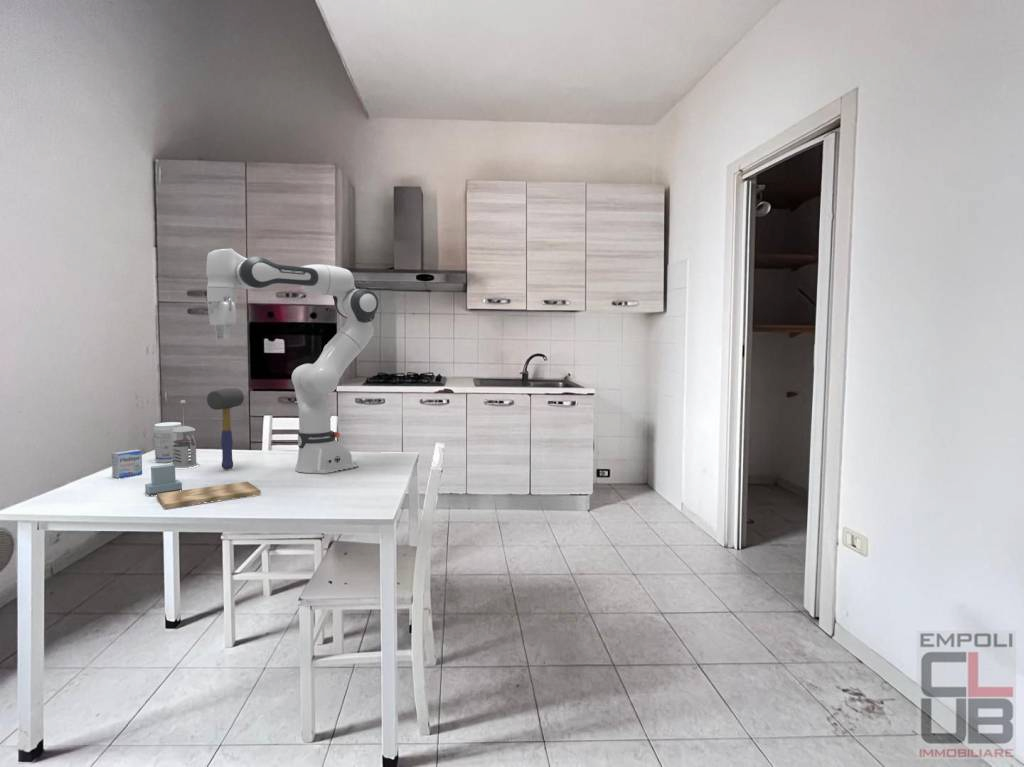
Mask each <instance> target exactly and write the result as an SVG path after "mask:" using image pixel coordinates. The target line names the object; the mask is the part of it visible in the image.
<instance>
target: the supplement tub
mask: <svg viewBox="0 0 1024 767" xmlns="http://www.w3.org/2000/svg"><path fill="white" fill-rule="evenodd" d="M182 424H183V423H181V422H179V421H178V422H177V421H169V422H168V421H166V422H159V423H155V424H154V426H153V437H154V438H153V439H154V453H155V454H154V455H155V462H157V463H158V462H159V463H158V464H170V463H169V462H175V461H173V451H172V446H173V445H175V444H176V443H174V441H176V440H184V435H183V433H172V432H171V431H172V430H173V429H175V428H177V427H180V426H183V425H182ZM174 451H175V450H174ZM174 455H175V454H174ZM174 458H175V457H174ZM167 462H168V463H167Z"/></svg>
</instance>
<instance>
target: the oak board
mask: <svg viewBox="0 0 1024 767" xmlns="http://www.w3.org/2000/svg"><path fill="white" fill-rule="evenodd" d="M260 494H262V491H261V489H260V488H258V487H256V486H255V485H254V484H253V483H250V482H249V481H241V482H235V483H234V482H233V483H225V484H220V485H212V486H205V487H197V488H196V487H195V488H190V489H182V490H181V491H174V492H166V493H159V494H157V496H156V500H157V499H158V500H159V501H158V500H157V501H158V503H160V505H161V504H162V505H161V506H162V507H163V508H164V510H169V509H170V510H171V508H172V509H176V508H177V507H178V508H183V507H182V506H185V507H188V506H187V505H191V506H193V505H192V504H198V505H200V504H199V503H204V502H211V501H218V500H224V501H226V500H225V499H231V500H233V499H232V498H238V499H241V498H240V497H244V498H248V497H247V496H251V497H254V496H253V495H257V496H261V495H260ZM218 502H219V501H218ZM211 503H212V502H211Z"/></svg>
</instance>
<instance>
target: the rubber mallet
mask: <svg viewBox="0 0 1024 767" xmlns="http://www.w3.org/2000/svg"><path fill="white" fill-rule="evenodd" d="M244 400H245V395H244V393H243V391H242V390H241V389H239V388H236V387H228V388H227V387H224V388H220V389H215V390H212V391H210V392H209V393H208V395H207V396H206V403H207V404H208V407H209V408H211V409H212V410H216V411H217V410H218V411H219V410H222V430H221V437H220V438H221V440H220V443H221V444H220V446H221V452H222V453H221V457H222V458H221V459H222V460H221V468H222V469H223V470H224V471H230V470H233V467H234V461H233V446H234V445H233V444H234V443H233V442H234V441H233V433H232V432H233V431H232V430H231V429H232V428H231V409H232V408H235V407H239V406H241V405H242V404H243V402H244ZM229 469H230V470H229Z"/></svg>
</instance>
